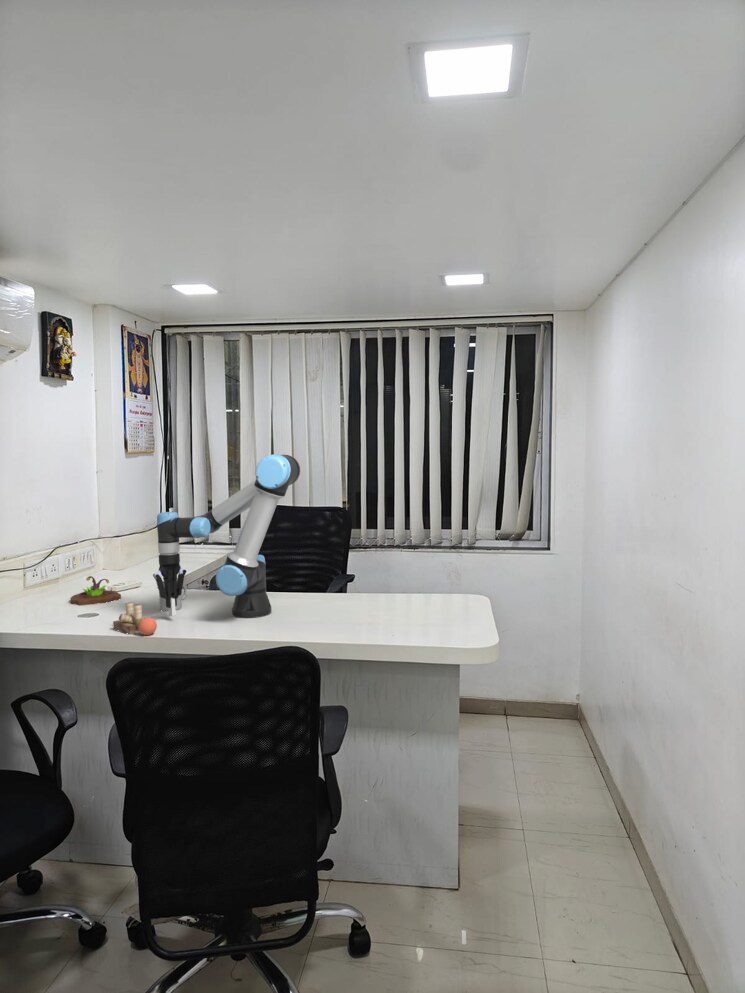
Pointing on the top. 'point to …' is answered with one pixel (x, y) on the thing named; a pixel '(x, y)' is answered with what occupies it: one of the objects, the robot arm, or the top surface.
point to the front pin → (127, 619)
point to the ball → (147, 626)
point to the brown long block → (124, 627)
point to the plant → (95, 594)
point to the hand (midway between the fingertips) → (171, 615)
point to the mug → (163, 600)
